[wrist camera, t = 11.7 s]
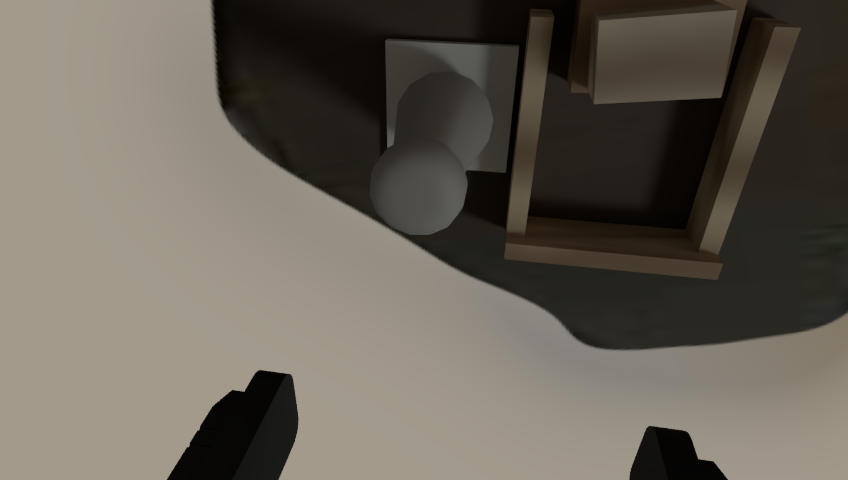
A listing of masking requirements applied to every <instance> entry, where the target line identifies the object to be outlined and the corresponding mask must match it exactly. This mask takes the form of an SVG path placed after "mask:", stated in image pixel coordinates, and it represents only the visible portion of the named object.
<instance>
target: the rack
mask: <svg viewBox="0 0 848 480" xmlns="http://www.w3.org/2000/svg"><path fill="white" fill-rule="evenodd" d="M553 24H554V15H553V13H552V10H549V9H530V14H529V23H528V32H527V40H526V49H525V58H524V67H523V76H522V85H521V94H520V103H519V112H518V120H517V129H516V138H515V147H514V156H513V165H512V174H511V183H510V192H509V201H508V209H507V218H506V227H505V248H504V259H509V260H519V261H529V262H540V263H550V264H560V265H570V266H581V267H591V268H601V269H612V270H622V271H632V272H642V273H653V274H663V275H673V276H684V277H694V278H704V279H714V280H717V279H718V276H719V274H720V271H721V268H722V266H723V263H722V261H721V259H720V258H719V256H718V254H719V251H720V248H721V245H722V243H723V240H724V237H725V234H726V232H727V229H728V226H729V223H730V221H731V218H732V215H733V212H734V210H735V207H736V204H737V201H738V199H739V196H740V193H741V191H742V188H743V185H744V182H745V180H746V177H747V174H748V171H749V169H750V166H751V163H752V160H753V158H754V155H755V152H756V149H757V147H758V144H759V141H760V138H761V136H762V133H763V130H764V127H765V125H766V122H767V119H768V116H769V114H770V111H771V108H772V106H773V103H774V100H775V97H776V95H777V92H778V89H779V86H780V84H781V81H782V78H783V75H784V73H785V70H786V67H787V64H788V62H789V59H790V56H791V53H792V51H793V48H794V45H795V42H796V40H797V37H798V34H799V31H800V29H801V28H800V27H797V26H795V25H792V24H789V23H787V22H784V21H781V20H778V19H776V18H752V20H751V23H750V27H749V30H748V33H747V36H746V39H745V42H744V45H743V49H742V52H741V55H740V58H739V61H738V64H737V68H736V71H735V74H734V77H733V80H732V83H731V86H730V90H729V93H728V96H727V99H726V102H725V105H724V109H723V112H722V115H721V118H720V121H719V124H718V127H717V131H716V134H715V137H714V140H713V143H712V146H711V150H710V153H709V156H708V159H707V162H706V165H705V169H704V172H703V175H702V178H701V181H700V184H699V187H698V191H697V194H696V197H695V200H694V203H693V206H692V210H691V213H690V216H689V219H688V222H687V225H686V228H685V230H683V229H671V228H660V227H648V226H637V225H625V224H614V223H602V222H591V221H579V220H568V219H556V218H545V217H533V216H528V208H529V201H530V193H531V186H532V179H533V171H534V164H535V157H536V149H537V142H538V134H539V127H540V120H541V112H542V105H543V98H544V90H545V83H546V75H547V68H548V61H549V53H550V46H551V39H552V31H553Z"/></svg>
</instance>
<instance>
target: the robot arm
mask: <svg viewBox="0 0 848 480" xmlns="http://www.w3.org/2000/svg"><path fill="white" fill-rule="evenodd" d="M297 429H298V411H297V404H296V397H295V390H294V383H293V378H292V376H291V375H290V374H284V373H277V372H270V371H263V370H259V371H257V372H256V373H255V375H254V376H253V378H252V379H251V381H250V383H249V385H248V386H247V388H246V390H245V392H242V391H235V390H232V391H231V392H229V393H228V394H227V395H226V396H225V397H223V398H222V399H221V400H220V401H219V402H217V403H216V404H215V405H214V406H213V407H212V409H211V410H210V412H209V413H208V415H207V416H206V418H205V420H204V421H203V423H202V424H201V426H200V430H199V431H197V432H196V434H195V436H194V437H193V439H192V440H191V442H190V446H189V447H187V448H186V450H185V452H184V453H183V455H182V456H181V458H180V460H179V461H178V463H177V464H176V466H175V467H174V469H173V471H172V472H171V474H170V476H169V477H168V479H167V480H278V479H279V477H280V475H281V472H282V470H283V468H284V465H285V463H286V461H287V458H288V456H289V454H290V451H291V449H292V447H293V444H294V442H295V438H296V434H297ZM629 480H728V479H727V478H726V477H725V476H724V474H723V473H722V472H721V471H720V469H719V468H718V467H717V465H716V464H715V463H714V462H713V461H706V460H700V459H698V457H697V454H696V451H695V448H694V445H693V442H692V439H691V437H690V435H689V434H688V432H686V431H682V430H675V429H668V428H660V427H653V426H649V427H648V428H647V429H646V431H645V433H644V436H643V439H642V441H641V444H640V447H639V449H638V452H637V455H636V457H635V460H634V463H633V465H632V468H631V472H630V479H629Z"/></svg>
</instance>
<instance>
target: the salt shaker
mask: <svg viewBox="0 0 848 480" xmlns="http://www.w3.org/2000/svg"><path fill="white" fill-rule="evenodd" d="M493 121H494V119H493V116H492V112H491V109H490V105H489V101H488V98H487V96H486V95H485V94H484V92H483V91H482V90H481V89H480V88H479V87H478V85H477V84H476V83H475V82H474V81H473V80H472V79H470V78H467V77H465V76H463V75H460V74H458V73H455V72H453V71H446V72H430V73H429V74H427V75H425V76H423V77H422V78H420V79H418V80H416V81H415V82H413V83H411V84H410V85H409V86H408V88H407V89H406V91H405V92H404V94H403V96H402V97H401V99H400V100H399V102H398V105H397V115H396V125H395V134H394V144H393V145H392V146H390V147H388V148H387V149H386V150H385V152H384V153H383V154H382V156H381V157H380V159H379V160H378V162H377V163H376V165H375V166H374V168H373V169H372V174H371V186H370V197H371V200H372V202H373V205H374V207H375V210H376V212H377V214H378V215H379V216H380V217H381V218H382V219H383V220H384V221H386V222H387V223H388V224H389V225H390V226H391V227H392V228H395V229H397V230H400V231H402V232H404V233H407V234H409V235H430V234H433V233H435V232H437V231H440V230H442V229H444V228H447V227H448V226H449V225H450V224H451V222H452V221H453V220H454V219H455V217H456V216H457V215H458V214H459V212H460V211H461V209H462V208H463V205H464V200H465V196H466V191H467V182H468V181H467V178H466V174H465V172H466V170H467V169H468V168H469V166H470V165H471V164H472V162H473V161H474V160H475V158H476V157H477V156H478V154H479V153H480V152H481V150H482V149H483V148H484V147H485V145H486V144H487V143H488V141H489V138H490V134H491V129H492V125H493Z"/></svg>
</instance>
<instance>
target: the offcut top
mask: <svg viewBox="0 0 848 480" xmlns="http://www.w3.org/2000/svg"><path fill="white" fill-rule="evenodd" d="M736 15H737V9H734V8H732V7H729V6H727V5H724V4H722V3H719V2H717V1H716V2H704V3H691V4H679V5H667V6H654V7H642V8H630V9H617V10H605V11H593V12H592V20H591V37H590V55H589V72H588V91H589V93H590V96H591V98H592V101H593V103H594V104H605V103H625V102H645V101H665V100H685V99H705V98H721V95H722V90H723V85H724V79H725V74H726V69H727V63H728V58H729V52H730V47H731V42H732V36H733V31H734V25H735V20H736Z"/></svg>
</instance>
